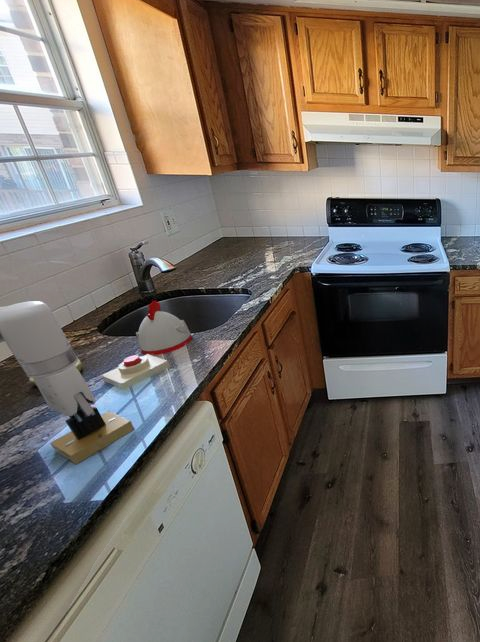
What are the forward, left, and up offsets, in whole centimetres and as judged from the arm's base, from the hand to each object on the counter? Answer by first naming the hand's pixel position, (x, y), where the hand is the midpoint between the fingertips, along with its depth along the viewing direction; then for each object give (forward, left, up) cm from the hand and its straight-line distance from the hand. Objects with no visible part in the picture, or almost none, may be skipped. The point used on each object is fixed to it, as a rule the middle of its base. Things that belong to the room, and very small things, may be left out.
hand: (90, 429), depth 82 cm
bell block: (+19, +20, -3) cm, 28 cm away
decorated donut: (+9, +40, -3) cm, 41 cm away
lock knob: (0, 0, -1) cm, 1 cm away
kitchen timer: (+33, +30, -3) cm, 45 cm away
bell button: (+19, +20, 0) cm, 28 cm away
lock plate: (0, 0, -3) cm, 3 cm away
